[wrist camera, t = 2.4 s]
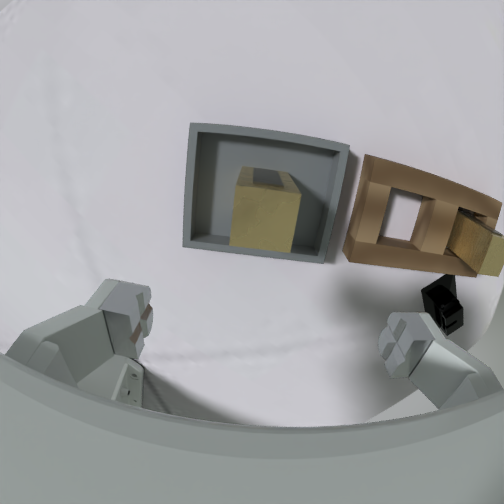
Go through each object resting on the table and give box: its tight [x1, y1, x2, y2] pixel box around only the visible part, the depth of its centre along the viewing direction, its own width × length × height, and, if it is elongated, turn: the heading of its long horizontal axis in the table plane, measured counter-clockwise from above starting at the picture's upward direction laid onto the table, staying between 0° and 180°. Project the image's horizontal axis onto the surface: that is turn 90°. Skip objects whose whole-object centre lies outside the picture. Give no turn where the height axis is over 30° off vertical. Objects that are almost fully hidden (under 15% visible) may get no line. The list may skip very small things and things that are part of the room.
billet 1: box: [229, 166, 301, 253], centre depth 21 cm, size 4×4×8 cm
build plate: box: [421, 274, 463, 336], centre depth 29 cm, size 12×7×5 cm, turn 31°
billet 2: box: [446, 210, 504, 277], centre depth 22 cm, size 4×4×8 cm
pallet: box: [342, 154, 502, 277], centre depth 25 cm, size 10×19×2 cm, turn 83°
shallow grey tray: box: [183, 123, 350, 264], centre depth 24 cm, size 11×13×2 cm
